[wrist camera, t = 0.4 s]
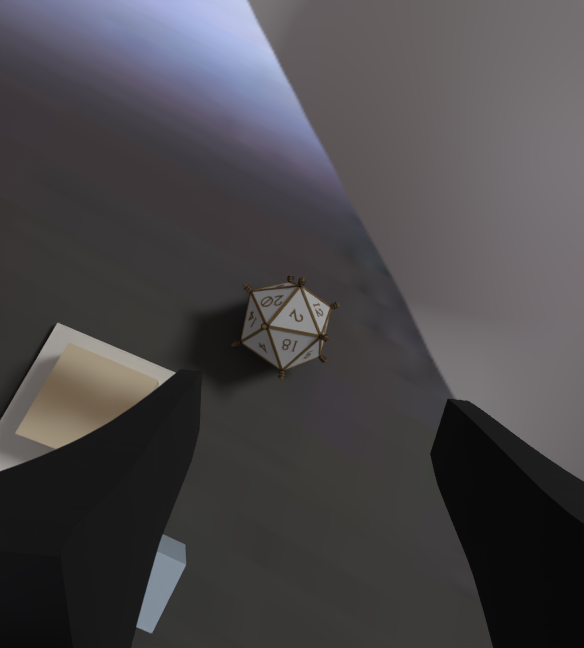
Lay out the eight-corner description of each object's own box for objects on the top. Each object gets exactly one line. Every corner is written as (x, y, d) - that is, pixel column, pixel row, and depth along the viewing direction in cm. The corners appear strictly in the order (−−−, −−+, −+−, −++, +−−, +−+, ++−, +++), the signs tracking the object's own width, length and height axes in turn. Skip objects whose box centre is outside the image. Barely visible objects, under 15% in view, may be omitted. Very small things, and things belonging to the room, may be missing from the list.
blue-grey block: (155, 602, 33) (151, 633, 29) (102, 578, 33) (89, 606, 28) (185, 544, 35) (185, 564, 30) (134, 520, 34) (126, 537, 29)
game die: (254, 353, 43) (199, 366, 34) (272, 269, 42) (220, 258, 33) (340, 378, 40) (305, 399, 31) (360, 288, 39) (331, 282, 30)
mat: (129, 522, 34) (127, 524, 33) (-24, 466, 32) (-30, 467, 31) (194, 381, 37) (194, 380, 36) (59, 324, 36) (56, 321, 35)
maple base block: (118, 467, 34) (113, 470, 30) (30, 434, 33) (15, 433, 29) (159, 385, 36) (158, 379, 33) (78, 351, 35) (68, 342, 32)
